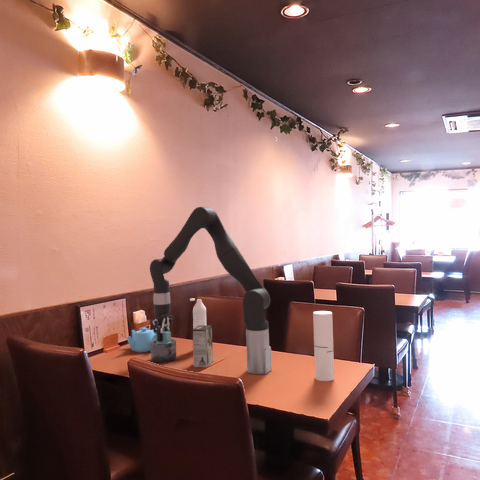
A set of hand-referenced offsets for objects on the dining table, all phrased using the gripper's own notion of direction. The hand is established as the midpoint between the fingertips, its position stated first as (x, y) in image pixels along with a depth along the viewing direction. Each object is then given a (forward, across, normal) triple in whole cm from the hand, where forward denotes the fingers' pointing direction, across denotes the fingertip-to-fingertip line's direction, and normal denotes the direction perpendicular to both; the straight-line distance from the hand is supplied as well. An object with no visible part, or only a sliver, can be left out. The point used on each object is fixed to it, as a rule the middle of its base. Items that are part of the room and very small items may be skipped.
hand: (163, 339), depth 192 cm
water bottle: (+9, +19, -7) cm, 22 cm away
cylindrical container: (+9, +1, -74) cm, 75 cm away
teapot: (+9, +11, +20) cm, 25 cm away
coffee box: (+9, 0, -21) cm, 23 cm away
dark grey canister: (+9, 0, 0) cm, 9 cm away
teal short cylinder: (+2, 0, 0) cm, 2 cm away
